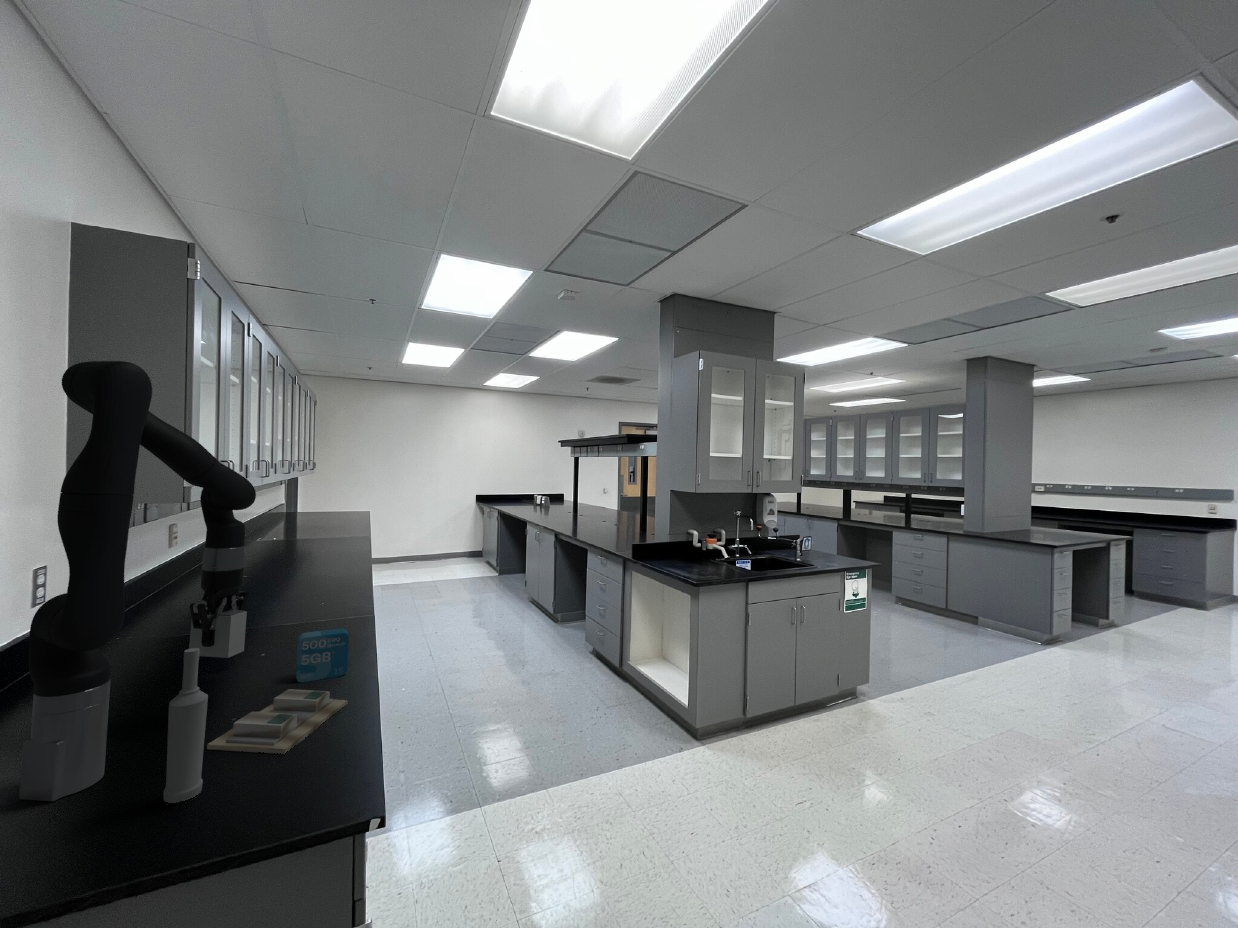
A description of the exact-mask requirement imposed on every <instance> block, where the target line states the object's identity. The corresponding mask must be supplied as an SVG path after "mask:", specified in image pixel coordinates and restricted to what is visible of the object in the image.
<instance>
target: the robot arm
mask: <svg viewBox="0 0 1238 928" xmlns="http://www.w3.org/2000/svg"><path fill="white" fill-rule="evenodd" d="M61 386H62V390H63V392H64V394H65V395H66V397H67V398H68V399H69V400H70V401H71V402H73V403H74V404H75V405H76V406H79V407H80V408H82V409H84V411H87V412H88V413H90V414H91V415H92V421H91V422H92V423H91V429H90V433H89V436H88V439H87V441H86V443H85V445H84V447H83V448H82V450H81V452H80V453H79V454H78V456H76V459H75V460H74V461H73V463H72V464H71V466H70V467H69V469H68V471H67V472H66V474H65V476H64V478H63V481H62V485H61V487H60V493H59V500H58V501H59V502H58V509H57V517H56V518H57V527H58V528H57V529H58V532H59V534H60V539H61V542H62V546H63V549H64V552H65V555H66V559H67V562H68V568H69V569H68V570H69V572H68V573H69V575H68V576H69V577H68V584H67V588H66V589H67V590H66V593H61V594H59V595H55V596H54V597H51V598H50V599H48V600H47V601H45V602H43V604H42V605H41V606H39V608H37V610H36V612H35V614H34V615H33V618H32V619H31V623H30V629H29V640H28V644H29V645H28V650H29V651H28V652H29V653H28V671H29V675H30V678H31V680H32V683H33V697H32V698H33V700H32V701H33V702H32V711H31V713H32V714H31V723H30V724H31V725H30V726H31V728H30V739H28V740H25V741H24V742H23V743H22V753H21V754H22V755H21V769H20V782H19V796H18V800H23V801H25V800H26V801H40V802H41V801H42V802H55V801H57V800H59V799H60V798H63V797H66V796H67V797H68V796H69V795H73V794H75V793H78V792H80V791H81V792H82V791H83V790H85V789H88V788H89V787H91V786H93V785H95V784H96V783H98V782H99V781H100V780H101V779H102V778H103V777H104V775H105V767H106V754H107V753H106V752H107V751H106V750H107V739H108V738H107V737H108V721H109V705H110V694H111V693H110V692H111V691H110V690H111V675H112V665H111V663H110V661H108V659H107V658H106V657H105V655H104V654H103V652H102V649H101V648H102V647H104V646H106V645H107V644H108V643H110V642H111V641H112V640H113V639H115V637H116V636H117V634H118V633H119V632H120V630H121V628H122V626H123V624H124V622H125V621H124V620H125V615H126V614H125V613H126V612H125V610H126V605H125V604H126V601H125V600H126V597H125V595H126V593H125V565H126V556H127V551H128V550H127V548H128V540H129V531H130V524H131V519H132V511H133V507H134V506H133V505H134V497H135V496H134V495H135V485H136V484H135V483H136V482H135V481H136V474H137V468H138V461H139V453H140V447H143V448H144V449H146V450H147V451H148V452H150V453H151V454H152V455H153V456H154V457H156V458H157V459H158V460H160V461H161V462H162V463H163V464H164V465H166V466H167V467H168V468H169V469H170V470H171V471H172V472H174V473H176V474H177V476H179V477H180V478H182V479H183V480H184V481H185V482H186V483H188V484H190V486H191V485H192V486H194V487H198V488H201V489H202V490H201V492H200V496H199V497H200V507H201V511H202V515H203V516H202V517H203V520H204V524H205V527H206V532H205V533H206V534H205V543H204V544H205V545H204V551H203V556H202V563H201V564H202V565H201V574H200V575H201V578H200V589H201V590H203V591H204V593H203V595H202V598H201V600H200V601H199V602H192V603H190V605H189V611H190V617H191V619H192V623H193V628H194V629H201V630H202V640H201V643H202V646H203V647H211V646H213V645H214V639H215V626H216V620H217V619H218V618H219V616H220V614H222V612H223V611H228V610H244V611H245V609H246V605H247V601H248V597H249V591H245V590H242V591H241V590H240V589H239V588H240V587H242V586H243V583H244V569H245V557H246V556H245V540H246V539H245V536H246V526H245V525H246V524H245V523H244V522H242V521H241V520H238V519H237V518H236V517H235V515H234V511H243V510H246V509H248V508H250V507H251V506H252V505H253V504H255V501H256V498H257V492H256V489H255V487H254V485H253V484H252V482H251V481H249V479H247V478H246V477H244V476H243V475H241V474H240V473H238V472H237V471H235V470H233V469H232V468H230V467H229V466H227V465H225V464H224V463H222V462H220V461H219V460H218V459H217V458H216V457H215V456H214V454H212V453H211V452H210V451H209V450H208V449H207V448H205V447H204V446H203V444H201V442H198V441H197V440H196V439H194V438H193V437H192V436H191V435H188V433H185V432H183V431H181V430H180V429H178V428H176V427H175V426H173V425H171V424H170V423H168V422H166V421H164V420H162V419H161V418H159V417H158V416H156V415H155V414H154V413H152V411H150V406H151V402H152V398H153V384H152V380H151V378H150V376H149V375H148V373H147V372H146V371H145V369H143V368H142V367H141V366H139V365H138V364H135V363H132V362H128V361H122V360H121V361H120V360H95V361H93V360H91V361H82V362H79V363H76V364H73V365H71V366H69V367H68V368H67V369H66V370H65V371H64V373H63V374H62V377H61ZM209 612H210V613H215V614H214V615H209V614H208V613H209ZM208 618H211V622H210V624H209V623H208ZM199 620H201V623H200V621H199Z"/></svg>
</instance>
